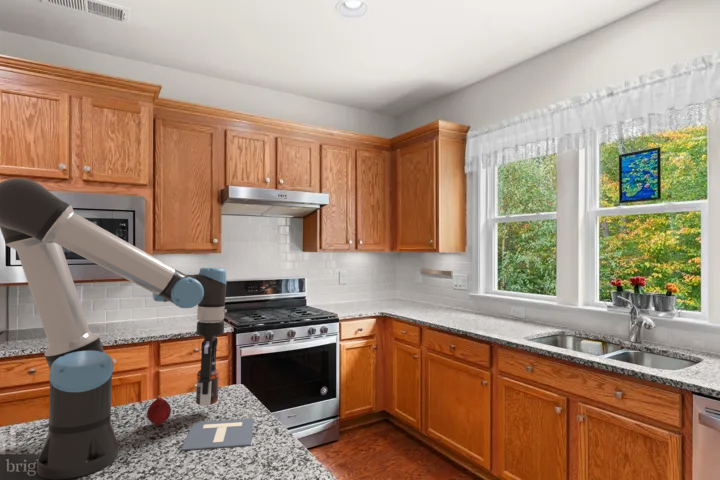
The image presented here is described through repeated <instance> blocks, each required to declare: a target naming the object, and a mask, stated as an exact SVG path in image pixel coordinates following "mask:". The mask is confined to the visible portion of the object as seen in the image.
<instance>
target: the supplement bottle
mask: <svg viewBox="0 0 720 480" xmlns="http://www.w3.org/2000/svg"><path fill="white" fill-rule="evenodd" d="M216 364H217V362H216V363H215V362H212V369H211V399H210V405H214V404H215V403H218V402H217V401H218V400H219V399H218V398H219V378H220V377H219V375H220V373H219V372H220V371H219V370H218V369H217V365H216ZM215 367H216V369H215ZM200 372H201V369H200V370H198V372H197V373H196V390H195V391H196V392H195V393H196V395H195V398H196V399H195V402H196V404H197V405H199V406H200V390H201V383H198V380H200ZM210 405H209V406H210Z"/></svg>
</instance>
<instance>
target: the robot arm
mask: <svg viewBox="0 0 720 480" xmlns="http://www.w3.org/2000/svg"><path fill="white" fill-rule="evenodd" d="M0 232H1V235H2V238H3V241H4V242H5V246H6V247H9V248H11V249H13V250H15V251H16V253H17V255H18V258H19V261H20V264H21V267H22V269H23V272H24V275H25V278H26V282H27V284H28V287H29V290H30V292H31V295H32V299H33V302H34V304H35V306H36V310H37V313H38V315H39V319H40V322H41V324H42V327H43V330H44V333H45V336H46V338H47V342H48V348H46V349H45V350H46V351H45V352H44V357H45V360H46V364H47V366H48V370H49V373H48V381H49V401H48V402H49V404H48V405H49V406H48V407H49V408H48V410H49V411H48V433H47V436H46V438H45V441H44V443H43V446H42V449H41V451H40V454H39V456H38V458H37V462H36V463H37V464H36V473H37V475H38V476H39V477H40V478H42V479H45V480H70V479H74V478H79V477H83V476H86V475H90V474H93V473H95V472H99V471H101V470H102V469H104V468H106V467H108V466H110V465H111V464H113V463H114V462H115V461H116V460H117V459H118V457H119V448H120V446H119V442H118V439H117V436H116V434H115V433H116V432H115V431H114V428H113V425H112V420H111V419H112V391H113V390H112V387H113V385H112V383H113V372H114V365H113V359H112V357H111V356H110V354H108V353H107V352H105V351H104V348H103V344H102V341H101V339H100V335H99V334H97V333H94V332H91V330H90V328H89V325H88V322H87V319H86V315H85V313H84V310H83V307H82V303H81V300H80V298H79V294H78V291H77V288H76V286H75V282H74V280H73V276H72V274H71V271H70V267H69V266H68V265H69V264H68V261H67V259H66V255H65V251H64V250H63V248H65V249H67V250H69V251H70V252H73V253H74V254H77V255H78V256H81V257H82V258H85V259H86V260H87V261H90V262H92V263H94V264H96V265H97V266H100V267H102V268H103V269H106V270H108V271H109V272H111V273H113V274H115V275H118V276H119V277H122V278H124V279H125V280H127V281H129V282H132V283H133V284H135V285H137V286H139V287H141V288H142V289H145V290H147V291H149V292H151V293H152V298H153V301H154V302H162V303H166V302H170V303H172V304H173V305H175V307H178V308H180V309H193V308H194V307H197V313H196V320H197V322H196V335H198V336H203V337H204V339H203V340H202V341H201V347H200V348H201V349H200V350H201V356H200V357H201V358H200V359H201V360H200V370H201V372H200V380H198V383H201V390H200V405H199V406H201V407H202V406H203V407H204V406H210V399H211V369H212V362H215V363H216V364H217V352H218V351H217V348H218V347H217V346H218V341H219V340H218V337H216V336H221V335H223V334H224V332H225V322H224V319H225V314H226V313H227V312H228V310H227V308H226V292H227V286H228V285H227V284H228V283H227V271H226V269H225V268H224V267H223V268H222V267H201V268H200V269H199V272H198V273H196V274H185V273H183V272H182V271H180V270H178V269H176V268H174V267H173V266H171V265H169V264H167V263H166V262H164V261H162V260H160V259H158V258H156V257H155V256H153V255H151V254H149V253H148V252H146V251H144V250H142V249H140V248H138V247H137V246H135V245H133V244H131V243H129V242H127V241H126V240H124V239H122V238H120V237H119V236H118V235H115V234H114V233H112V232H110V231H108V230H107V229H104V228H102V227H101V226H99V225H98V224H95V223H94V222H91V221H90V220H89V219H86V218H85V217H83V216H82V215H80V214H77V213H75V211H74V208H73V206H72V205H71V204H69V203H68V202H65V201H64V200H62V199H60V198H59V197H57V196H56V195H55V194H53V193H52V192H51V191H49V190H48V189H47V188H46V187H44V185H42V184H41V183H39V182H36V181H35V180H32V179H27V178H22V177H20V178H17V177H15V178H10V179H9V178H8V179H6V180H3V181H1V182H0ZM225 308H226V309H225ZM215 369H217V366H216V367H215Z"/></svg>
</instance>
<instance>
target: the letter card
mask: <svg viewBox="0 0 720 480" xmlns="http://www.w3.org/2000/svg"><path fill="white" fill-rule="evenodd" d="M254 423H255V419H254V418H243V419H242V418H240V419H238V418H237V419H224V420H211V421H210V420H207V421H194V422H193V423H192V425H191V428H190V430H189V432H188V434H187V437H186V438H185V440H184V443H183V445H182V447H181V451H193V450H207V449H208V450H209V449H219V448H222V449H223V448H234V447H236V448H237V447H246V446H249V447H251V446H252V439H253V429H254Z"/></svg>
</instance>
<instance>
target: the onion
mask: <svg viewBox="0 0 720 480" xmlns="http://www.w3.org/2000/svg"><path fill="white" fill-rule="evenodd" d="M171 412H172V407H171V405H170V404H169V402H168V401H167V400H166V399H164V398H162V397H161V396H160V395H157V397H156V399H155V400H154V401H152V402H151V403H150V405H149V407H148V408H147V411H146V416H147V417H146V418H147V419H148V421H149V423H152V424H153V425H155V426H156V427H159V426H161V425H163V424H164V423H165V422H167V420H169V418H170V416H171Z"/></svg>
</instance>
